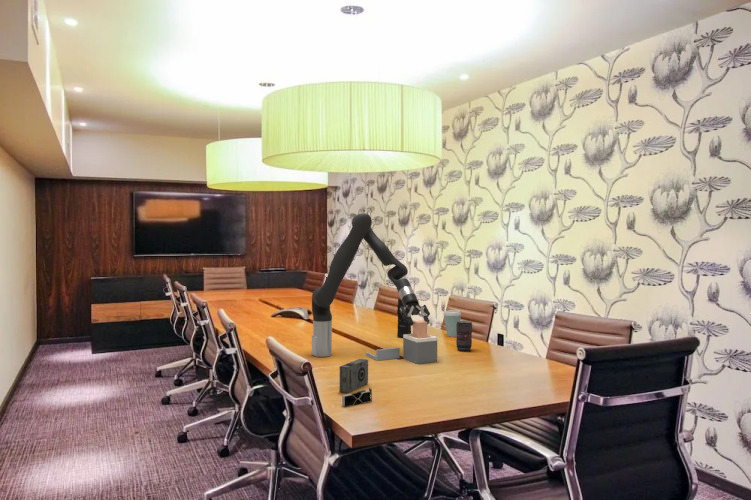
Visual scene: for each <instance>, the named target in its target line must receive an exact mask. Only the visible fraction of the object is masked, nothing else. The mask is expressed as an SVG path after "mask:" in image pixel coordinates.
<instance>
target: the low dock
mask: <svg viewBox="0 0 751 500" xmlns="http://www.w3.org/2000/svg"><path fill="white" fill-rule="evenodd" d="M400 350H401V349H400V347H391V348H389V347H388V348H382V349H376V351H375V352H376V355H374V354H372V353H371V352H368V351H367V352H365V356H366V357H368V358H370V359H373V360H375V361H377V362H378V361H386V360H387V361H388V360H396V359H397V360H398V359H400V357H401V356H400V352H401V351H400Z"/></svg>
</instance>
